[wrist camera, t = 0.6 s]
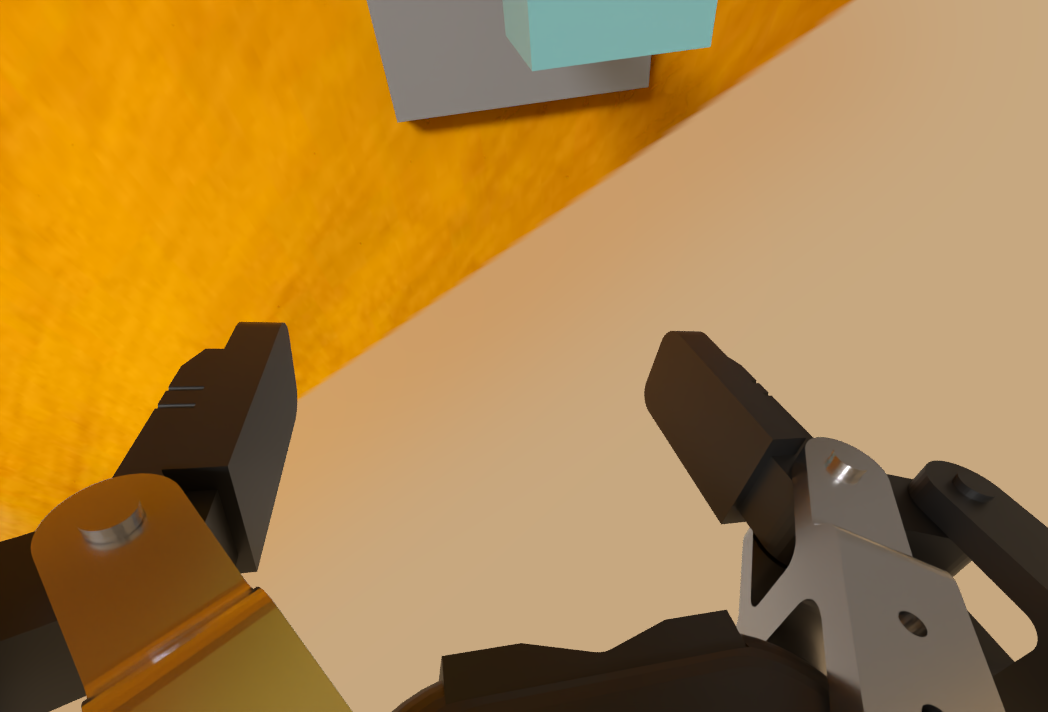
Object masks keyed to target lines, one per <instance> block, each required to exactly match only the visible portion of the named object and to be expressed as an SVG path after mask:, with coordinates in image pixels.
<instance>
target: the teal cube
mask: <svg viewBox="0 0 1048 712" xmlns="http://www.w3.org/2000/svg"><path fill="white" fill-rule="evenodd" d="M502 1H503V12H504V22H505V32H506V37H507V38H508V39H509V41H510V42H511V43H512V45H513V46H514V47H515V49H516V50H517V51H518V53H519V54H520V56H521V57H522V58H523V60H524V61H525V62H526V64H527V65H528V66H529V68H530V69H531V70H532V71H538V70H545V69H552V68H560V67H567V66H574V65H581V64H589V63H596V62H603V61H611V60H618V59H625V58H632V57H640V56H647V55H654V54H662V53H669V52H676V51H683V50H691V49H698V48H705V47H710V46H711V40H712V33H713V27H714V20H715V13H716V7H717V0H502Z"/></svg>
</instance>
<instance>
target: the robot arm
mask: <svg viewBox="0 0 1048 712" xmlns="http://www.w3.org/2000/svg"><path fill="white" fill-rule="evenodd" d="M644 393H645V395H644V396H645V403H646V406H647V409H648V411H649V412H650V414H651V415H652V417H653V419H654V420H655V422H656V423H657V425H658V426H659V428H660V430H661V431H662V433H663V434H664V436H665V437H666V439H667V440H668V442H669V444H670V445H671V447H672V448H673V450H674V451H675V453H676V454H677V456H678V458H679V459H680V461H681V462H682V464H683V465H684V467H685V469H686V470H687V472H688V473H689V475H690V476H691V478H692V479H693V481H694V482H695V484H696V486H697V487H698V489H699V490H700V492H701V493H702V495H703V496H704V498H705V500H706V501H707V502H708V504H709V506H710V507H711V509H712V511H713V512H714V514H715V515H716V517H717V518H718V520H719V521H720V523H721V524H728V523H738V522H747V524H748V525H749V526H750V528H749V530H748V531H747V533H746V534H745V536H744V540H743V552H742V553H743V554H742V570H741V587H740V604H739V617H738V622H737V626H735V624H734V622H733V620H732V619H731V617H730V615H729V613H728V611H727V610H722V611H716V612H710V613H704V614H698V615H692V616H686V617H680V618H673V619H667V620H664V621H662V622H660V623H658V624H657V625H655V626H653V627H651V628H649V629H647V630H646V631H644V632H642V633H640V634H638V635H637V636H635V637H633V638H631V639H629V640H627V641H625V642H624V643H622V644H620V645H618V646H616V647H615V648H613V649H611V650H608V651H606V652H588V651H580V650H571V649H564V648H555V647H548V646H539V645H530V644H523V643H520V644H514V645H508V646H502V647H495V648H489V649H484V650H478V651H471V652H465V653H459V654H452V655H446V656H442V659H441V667H440V676H439V681H438V682H436V683H434V684H432V685H430V686H429V687H427V688H424V689H423V690H421V691H419V692H418V693H416V694H415V695H413V696H412V697H410V698H409V699H407V700H406V701H404V702H403V703H402V704H400V705H399V706H398V707H397V708H396V709H394V710H393V711H392V712H1048V528H1047V527H1046V526H1045V525H1044V524H1043V523H1041V522H1040V521H1039V520H1038V519H1036V518H1035V517H1034V516H1033V515H1032V514H1030V513H1029V512H1028V511H1027V510H1025V509H1024V508H1023V507H1022V506H1020V505H1019V504H1018V503H1017V502H1016V501H1014V500H1013V499H1012V498H1011V497H1010V496H1008V495H1007V494H1006V493H1005V492H1003V491H1002V490H1001V489H1000V488H998V487H997V486H996V485H994V484H993V483H991V482H990V481H989V480H987V479H985V478H984V477H982V476H980V475H979V474H977V473H975V472H973V471H971V470H969V469H967V468H964V467H961V466H959V465H956V464H953V463H949V462H945V461H932V462H929V463H928V464H926V466H925V467H924V468H923V469H922V470H921V471H920V472H919V473H918V475H917V476H916V477H915V478H914V479H908V478H903V477H899V476H894V475H888V474H886V473H885V471H884V470H883V469H882V468H881V467H880V466H879V465H878V464H877V463H876V462H875V461H874V460H873V459H871V458H870V457H869V456H868V455H866V454H865V453H863V452H862V451H860V450H858V449H857V448H855V447H853V446H851V445H848V444H846V443H844V442H842V441H838V440H835V439H831V438H825V437H816V438H813V437H812V436H811V435H810V434H809V433H808V432H807V431H806V430H805V429H804V428H803V427H802V426H801V425H800V424H799V423H798V422H797V421H796V420H795V419H794V418H793V417H792V416H791V415H790V414H789V413H788V412H787V411H786V410H785V409H784V408H783V407H782V406H781V405H780V404H779V403H778V402H777V401H776V400H775V399H774V398H773V397H772V396H768V392H767V391H766V390H765V389H764V388H763V387H762V386H761V385H760V384H759V383H756V380H755V379H754V378H753V377H752V376H751V375H750V374H749V373H748V372H747V371H746V370H745V369H744V368H743V367H742V366H741V365H740V364H738V363H737V362H735V361H734V360H732V359H730V358H729V357H727V356H726V355H725V354H724V353H723V352H722V351H721V350H720V349H719V348H718V346H716V344H715V343H714V342H712V340H710V338H709V337H708V336H707V335H706V334H704V333H703V332H694V331H670V332H668V333H667V334H666V335H665V336H664V337H663V339H662V342H661V344H660V347H659V350H658V352H657V355H656V358H655V361H654V363H653V366H652V369H651V371H650V374H649V377H648V379H647V382H646V386H645V392H644ZM296 412H297V388H296V381H295V374H294V367H293V360H292V353H291V346H290V339H289V333H288V328H287V326H286V324H285V323H270V322H239V323H238V324H237V326H236V327H235V329H234V331H233V333H232V335H231V337H230V339H229V341H228V343H227V345H226V346H225V348H224V349H205V350H203V351H202V352H200V353H199V354H198V355H196V356H195V357H193V358H192V359H191V360H189V361H188V362H186V363H185V364H184V365H182V366H181V368H180V369H179V371H178V372H177V374H176V376H175V377H174V379H173V380H172V382H171V384H170V385H169V391H166V392H165V393H164V395H163V397H162V398H161V400H160V401H159V403H158V409H154V411H153V413H152V414H151V416H150V418H149V419H148V421H147V422H146V424H145V426H144V427H143V429H142V430H141V432H140V434H139V435H138V437H137V439H136V440H135V442H134V443H133V445H132V447H131V448H130V450H129V451H128V453H127V455H126V456H125V458H124V460H123V461H122V463H121V464H120V466H119V468H118V469H117V471H116V472H115V474H114V476H113V477H112V478H111V479H107V480H104V481H101V482H99V483H96V484H93V485H91V486H89V487H87V488H85V489H83V490H81V491H79V492H77V493H75V494H74V495H72V496H70V497H69V498H67V499H66V500H64V501H63V502H62V503H60V504H59V505H58V506H57V507H55V508H54V509H53V510H52V511H51V512H50V513H49V514H48V515H47V516H46V517H45V518H44V519H43V520H42V522H41V523H40V525H39V526H38V528H37V529H36V531H34V532H31V533H28V534H25V535H22V536H19V537H16V538H12V539H9V540H5V541H1V542H0V712H49V711H52V710H54V709H56V708H58V707H61V706H63V705H65V704H68V703H70V702H72V701H75V700H77V699H80V698H82V697H84V696H87V699H86V700H85V701H83V702H82V705H81V708H82V712H353V711H352V710H351V709H350V707H349V706H348V704H346V702H345V700H344V699H343V698H342V696H341V695H340V693H339V692H338V691H337V689H336V688H335V686H334V685H333V684H332V682H331V681H330V680H329V678H328V677H327V675H326V674H325V673H324V671H323V670H322V668H321V667H320V666H319V664H318V663H317V661H316V660H315V659H314V657H313V656H312V654H311V653H310V652H309V650H308V649H307V647H306V646H305V645H304V643H303V642H302V640H301V639H300V638H299V636H298V635H297V634H296V632H295V631H294V629H293V628H292V627H291V625H290V624H289V622H288V621H287V620H286V618H285V617H284V615H283V614H282V613H281V611H280V610H279V609H278V607H277V606H276V604H275V603H274V602H273V601H272V599H271V598H270V597H269V596H268V594H267V593H266V592H265V591H264V590H263V589H261V588H260V587H256V588H254V589H253V588H251V587H250V585H249V584H248V583H247V582H246V580H245V579H244V578H243V576H242V575H241V573H248V572H257V570H258V566H259V562H260V558H261V554H262V550H263V546H264V542H265V538H266V534H267V530H268V526H269V522H270V518H271V514H272V510H273V506H274V502H275V498H276V494H277V491H278V486H279V483H280V478H281V475H282V470H283V467H284V462H285V459H286V455H287V451H288V447H289V443H290V439H291V435H292V431H293V427H294V423H295V419H296ZM971 561H973V562H974V563H975V564H976V565H977V566H978V567H979V568H980V569H981V570H982V571H983V572H984V573H985V574H986V575H987V576H988V577H989V578H990V579H991V580H992V581H993V582H994V583H995V584H996V585H997V586H998V587H999V588H1000V589H1001V590H1002V591H1003V592H1004V593H1005V594H1006V595H1007V596H1008V597H1009V598H1010V599H1011V600H1012V601H1013V602H1015V604H1016V605H1017V606H1018V607H1019V608H1020V609H1021V610H1022V611H1023V612H1024V613H1025V614H1026V615H1027V616H1028V617H1029V618H1030V620H1031V621H1032V623H1033V625H1034V626H1035V629H1036V631H1037V636H1038V642H1037V646H1036V647H1035V649H1034V650H1033V651H1031V652H1030V653H1028V654H1027V655H1025V656H1024V657H1022V658H1021V659H1019V660H1017V661H1016V662H1014V661H1013V660H1012V659H1011V658H1010V657H1009V655H1008V654H1007V653H1006V652H1005V651H1004V650H1003V649H1002V648H1001V647H1000V646H999V645H998V643H996V641H995V640H994V639H993V638H992V637H991V636H990V635H989V634H988V632H987V631H986V630H985V629H984V628H983V627H982V626H981V625H980V624H979V623H978V622H977V620H976V619H975V618H974V617H973V616H972V615H971V614H970V613H969V612H968V611H967V609H966V606H965V603H964V601H963V598H962V595H961V593H960V590H959V588H958V585H957V583H956V581H955V580H954V578H953V576H955V575H956V574H957V573H958V572H959V571H960V570H961V569H963V568H964V567H965V566H966V565H967V564H968V563H970V562H971Z"/></svg>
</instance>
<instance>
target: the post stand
mask: <svg viewBox="0 0 1048 712" xmlns="http://www.w3.org/2000/svg"><path fill="white" fill-rule="evenodd" d="M367 3H368V7H369V11H370V15H371V19H372V23H373V27H374V31H375V35H376V39H377V42H378V46H379V50H380V54H381V58H382V62H383V66H384V70H385V74H386V78H387V82H388V86H389V90H390V94H391V98H392V102H393V106H394V110H395V114H396V118H397V122H404V121H411V120H418V119H425V118H432V117H439V116H446V115H454V114H461V113H468V112H475V111H482V110H489V109H496V108H503V107H510V106H518V105H525V104H532V103H539V102H546V101H553V100H560V99H567V98H574V97H581V96H589V95H596V94H603V93H610V92H617V91H624V90H631V89H638V88H645V87H649V75H650V63H651V55H647V56H640V57H632V58H625V59H618V60H611V61H603V62H596V63H589V64H581V65H574V66H567V67H560V68H552V69H545V70H538V71H532V70H531V69H530V68H529V66H528V65H527V64H526V62H525V61H524V60H523V58H522V57H521V56H520V54H519V53H518V51H517V50H516V49H515V47H514V46H513V45H512V43H511V42H510V41H509V39H508V38H507V37H506V32H505V22H504V12H503V1H502V0H367Z"/></svg>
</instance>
